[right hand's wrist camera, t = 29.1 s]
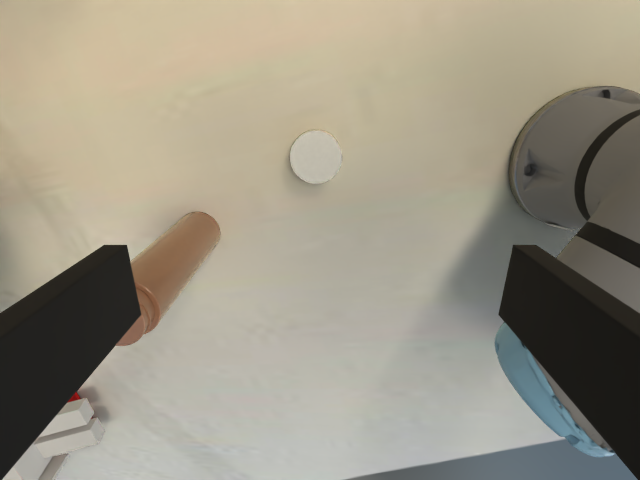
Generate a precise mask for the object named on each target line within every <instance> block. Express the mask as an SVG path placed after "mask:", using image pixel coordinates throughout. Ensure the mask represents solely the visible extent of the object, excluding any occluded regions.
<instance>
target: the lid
mask: <svg viewBox="0 0 640 480" xmlns="http://www.w3.org/2000/svg"><path fill="white" fill-rule="evenodd" d="M290 163H291V167H292V169H293V171H294V172H295V174H296V175H297V176H298V177H299V178H300V179H302V180H303V181H305V182H308V183H312V184H321V183H324V182H327V181H329V180H330V179H332V178H333V177H334V176H335V175H336V174H337V172H338V171H339V169H340V167H341V163H342V152H341V148H340V146H339V144H338V142H337V140H336V139H335V138H334V137H333V136H332V135H331V134H329V133H328V132H326V131H323V130H309V131H306V132H304V133H303V134H301V135H300V136H299V137H298V138H297V139H296V141H295V142H294V144H293V146H292V148H291V151H290Z"/></svg>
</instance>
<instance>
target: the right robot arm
mask: <svg viewBox="0 0 640 480" xmlns="http://www.w3.org/2000/svg"><path fill="white" fill-rule="evenodd" d="M509 181H510V186H511V189H512V192H513V195H514V197H515V199H516V201H517V202H518V204H519V205H520V206H521V207H522V208H523V209H524V210H525V211H526V212H527V213H528V214H530V215H531V216H533V217H535V218H537V219H538V220H540V221H542V222H544V223H547V224H546V225H550V226H554V227H557V228H561V229H565V230H572V229H568V228H578V229H581V230H580V231H579V232H578V233H577V234H576V235H575V236H574V237H573V238H572V240H571V241H570V242H569V243H568V244H567V246H566V247H565V248H564V249H563V250H562V252H561V253H560V254H559V255H558V256H557V258H555V257H553V256H552V255H550V254H549V253H547V252H546V251H544V250H543V249H541V248H540V247H538V246H536V245H513V248H512V253H511V258H510V263H509V267H508V272H507V277H506V282H505V286H504V291H503V296H502V301H501V305H500V310H499V316H500V317H501V318H502V319H503V321H504V323H503V324H502V326H501V327H500V328H499V330H498V332H497V334H496V337H495V349H496V353H497V355H498V360H499V363H500V365H501V367H502V369H503V371H504V373H505V375H506V376H507V378H508V379H509V381H510V383H511V384H512V385H513V387H514V388H515V390H516V391H517V392H518V394H519V395H520V396H521V398H522V399H523V400H524V401H525V402H526V404H527V405H528V406H529V407H530V408H531V409H532V410H533V412H534V413H535V414H536V415H537V416H538V417H539V418H540V419H541V420H542V421H543V422H544V423H545V424H546V425H547V426H548V427H549V428H550V429H552V430H553V431H554V432H555V433H556V434H558V435H559V436H561V437H565V438H566V439H567V440H568V442H569V443H570V444H571V445H572V446H573V447H575V448H576V449H578V450H580V451H581V452H583V453H585V454H588V455H590V456H594V457H604V456H612V455H613V454H615V453H616V454H617V455H618V457H619V458H620V459H621V460H622V461H623V463H624V464H625V465H626V466H627V467H628V468H629V470H630V471H631V472H632V473H633V474H634V476H635V477H636V478H637V479H638V480H640V94H638V93H636V92H634V91H631V90H628V89H623V88H620V87H613V86H599V87H586V88H581V89H577V90H573V91H570V92H568V93H565V94H563V95H561V96H559V97H557V98H555V99H554V100H552V101H551V102H549V103H548V104H546V105H545V106H544V107H543V108H541V109H540V110H539V111H538V112H537V113H536V114H535V115H534V116H533V117H532V118H531V119H530V120H529V122H528V123H527V124H526V126H525V127H524V128H523V130H522V131H521V133H520V135H519V137H518V139H517V141H516V143H515V145H514V148H513V151H512V154H511V158H510V164H509ZM140 316H141V310H140V305H139V301H138V296H137V291H136V286H135V282H134V277H133V272H132V267H131V263H130V258H129V253H128V248H127V245H104V246H102V247H100V248H99V249H97V250H96V251H94V252H93V253H91V254H90V255H88V256H87V257H85V258H84V259H82V260H81V261H79V262H78V263H76V264H75V265H73V266H72V267H70V268H69V269H67V270H65V271H64V272H62V273H61V274H59V275H58V276H56V277H55V278H53V279H52V280H50V281H49V282H47V283H46V284H44V285H43V286H41V287H40V288H38V289H37V290H35V291H34V292H32V293H30V294H29V295H27V296H26V297H24V298H23V299H21V300H20V301H18V302H17V303H15V304H14V305H12V306H11V307H9V308H8V309H6V310H5V311H3V312H2V313H0V480H2V479H3V478H4V477H5V476H6V474H7V473H8V472H9V471H10V470H11V468H12V467H13V466H14V465H15V464H16V463H17V461H18V460H19V459H20V458H21V457H22V455H23V454H24V453H25V452H26V451H27V450H28V448H29V447H30V446H31V445H32V444H33V442H34V441H35V440H36V439H37V438H38V437H39V435H40V434H41V433H42V432H43V431H44V429H45V428H46V427H47V426H48V425H49V423H50V422H51V421H52V420H53V419H54V418H55V416H56V415H57V414H58V413H59V412H60V410H61V409H62V408H63V407H64V406H65V405H66V403H67V402H68V401H69V400H70V399H71V397H72V396H73V395H74V394H75V393H76V392H77V390H78V389H79V388H80V387H81V386H82V384H83V383H84V382H85V381H86V380H87V379H88V377H89V376H90V375H91V374H92V373H93V371H94V370H95V369H96V368H97V367H98V365H99V364H100V363H101V362H102V361H103V360H104V358H105V357H106V356H107V355H108V354H109V352H110V351H111V350H112V349H113V348H114V347H115V345H116V344H117V343H118V342H119V341H120V339H121V338H122V337H123V336H124V335H125V334H126V332H127V331H128V330H129V329H130V328H131V326H132V325H133V324H134V323H135V322H136V321H137V319H138V318H139V317H140Z"/></svg>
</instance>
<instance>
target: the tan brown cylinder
mask: <svg viewBox="0 0 640 480" xmlns="http://www.w3.org/2000/svg"><path fill="white" fill-rule="evenodd" d="M219 238H220V229H219V226H218V224H217V222H216V221H215V220H214V219H213V218H212V217H211V216H209V215H208V214H205V213H202V212H192V213H189V214H187V215H185V216H184V217H183V218H182V219H181V220H179V221H178V222H177V223H176V224H175V225H173V226H172V227H171V228H170V229H169V230H167V231H166V232H165V233H164V234H163V235H161V236H160V237H159V238H158V239H157V240H155V241H154V242H153V243H152V244H151V245H149V246H148V247H147V248H146V249H145V250H143V251H142V252H141V253H140V254H139V255H137V256H136V257H135V258H134V259H133V260H131V261H130V263H131V267H132V272H133V277H134V282H135V286H136V291H137V296H138V301H139V305H140V310H141V316H140V317H139V318H138V319H137V321H136V322H135V323H134V324H133V325H132V326H131V328H130V329H129V330H128V331H127V332H126V334H125V335H124V336H123V337H122V338H121V339H120V341H119V342H118V343H117V344H116V346H126V345H130V344H133V343H135V342H136V341H138V340H139V339H140V338H141V337H142V336H143V334H146V333H148V332H150V331H152V330H153V329H154V328H155V327H156V326H157V325H158V323H159V322H160V321H161V319H162V318H163V316H164V315H165V314H166V312H167V311H168V310H169V308H170V307H171V306H172V304H173V303H174V301H175V300H176V299H177V297H178V296H179V295H180V293H181V292H182V291H183V289H184V288H185V286H186V285H187V284H188V282H189V281H190V280H191V278H192V277H193V276H194V274H195V273H196V271H197V270H198V269H199V267H200V266H201V265H202V263H203V262H204V261H205V259H206V258H207V257H208V255H209V254H210V252H211V251H212V250H213V248H214V247H215V246H216V244H217V243H218V241H219Z"/></svg>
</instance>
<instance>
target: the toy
mask: <svg viewBox="0 0 640 480" xmlns="http://www.w3.org/2000/svg"><path fill="white" fill-rule="evenodd" d="M93 414H94V410H93V409H92V407H91V405H90V403H89V402H88V400H87V398H83V399H80V397H79V395H78V394H77V392H76V393H75V394H74V395H73V396H72V397H71V399H70V400H69V401H68V402H67V403H66V405H65V406H64V407H63V408H62V409H61V410H60V412H59V413H58V414H57V415H56V416H55V418H54V419H53V420H52V421H51V422H50V423H49V425H48V426H47V427H46V428H45V429H44V431H43V432H42V433H41V434H40V435H39V437H38V438H37V439H36V440H35V441H34V442H33V444H32V445H31V446H30V447H29V448H28V450H27V451H26V452H25V453H24V454H23V455H22V457H21V458H20V459H19V460H18V461H17V463H16V464H15V465H14V466H13V467H12V468H11V470H10V471H9V472H8V473H7V474H6V476H5V477H4V478H3V479H2V480H55V478H56V477H57V475H58V474H59V472H60V471H61V469H62V467H63V466H64V464H65V463H66V461H67V460H68V458H69V454H63V453H66V452H70V451H74V450H77V449H81V448H85V447H88V446H92V445H96V444H99V442H100V440H101V438H102V436H103V434H104V432H105V430H104V428H103V426H102V424H101V423H100V421H99V419H98V417H96V418H92V416H93ZM59 454H63V455H59ZM55 455H57V456H55Z"/></svg>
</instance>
